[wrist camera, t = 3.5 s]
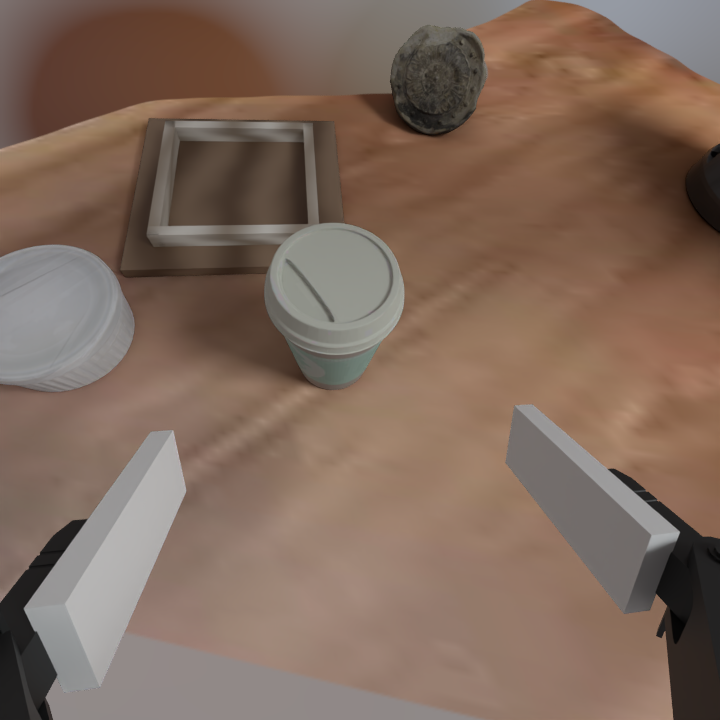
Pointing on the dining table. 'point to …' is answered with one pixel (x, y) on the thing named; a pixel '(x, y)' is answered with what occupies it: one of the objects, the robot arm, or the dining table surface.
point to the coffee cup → (334, 300)
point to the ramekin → (60, 318)
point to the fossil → (438, 78)
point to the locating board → (228, 194)
